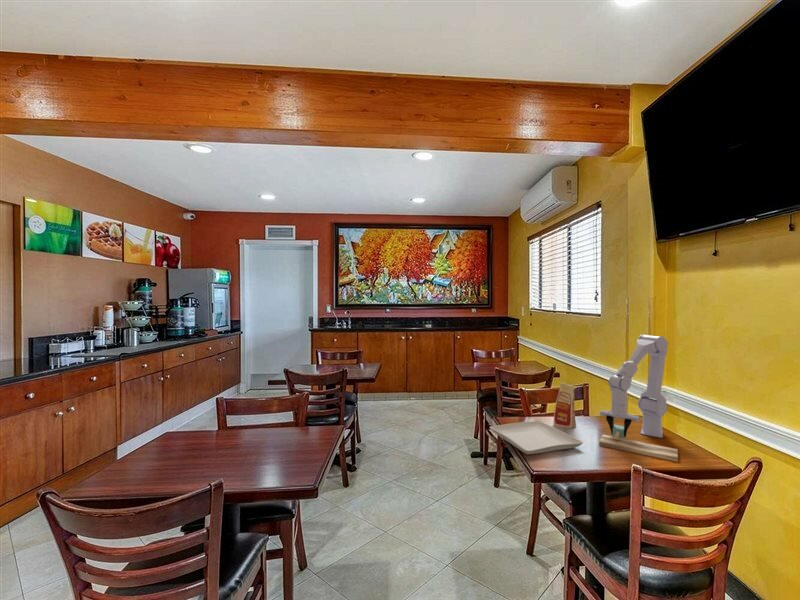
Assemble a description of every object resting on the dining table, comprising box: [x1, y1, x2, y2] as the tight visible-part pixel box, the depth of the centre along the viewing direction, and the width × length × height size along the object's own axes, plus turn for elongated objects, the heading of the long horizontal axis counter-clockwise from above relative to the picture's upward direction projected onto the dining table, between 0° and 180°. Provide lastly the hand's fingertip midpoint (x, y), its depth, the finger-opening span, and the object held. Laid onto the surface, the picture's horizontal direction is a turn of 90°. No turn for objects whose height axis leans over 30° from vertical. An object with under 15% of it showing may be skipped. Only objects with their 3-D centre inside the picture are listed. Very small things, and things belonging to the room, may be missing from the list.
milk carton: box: [552, 381, 577, 429], centre depth 181 cm, size 9×9×20 cm
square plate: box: [489, 420, 584, 455], centre depth 159 cm, size 27×27×4 cm
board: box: [598, 434, 679, 463], centre depth 152 cm, size 10×26×2 cm, turn 54°
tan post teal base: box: [612, 424, 626, 441], centre depth 160 cm, size 12×4×5 cm, turn 144°
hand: (618, 435), depth 163 cm, fingers closed on tan post teal base, 4 cm apart
